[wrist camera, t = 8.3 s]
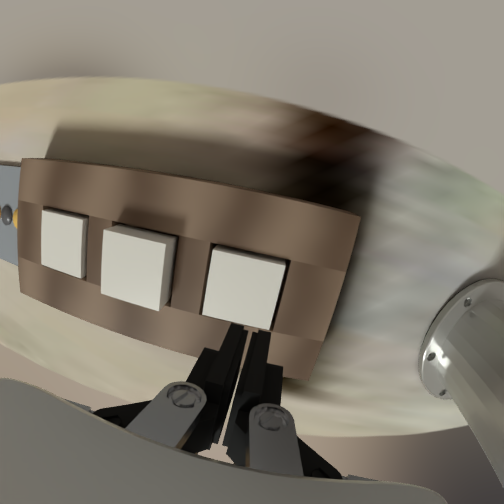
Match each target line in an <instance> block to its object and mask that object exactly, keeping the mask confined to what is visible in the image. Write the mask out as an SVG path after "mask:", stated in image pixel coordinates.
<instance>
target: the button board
mask: <svg viewBox="0 0 504 504" xmlns="http://www.w3.org/2000/svg"><path fill="white" fill-rule="evenodd" d="M51 208H57V209H62V210H66V211H71V212H76V213H80V214H85V215H89V227H88V245H87V275H86V276H84V277H83V278H78V277H75V276H72V275H69V274H66V273H64V272H61V271H58V270H55V269H52V268H50V267H47V266H44V265H42V264H41V224H42V210H46V209H51ZM360 219H361V217H360V216H358V215H356V214H354V213H352V212H349V211H346V210H342V209H338V208H334V207H330V206H326V205H322V204H318V203H313V202H309V201H305V200H301V199H296V198H292V197H288V196H283V195H279V194H274V193H269V192H265V191H260V190H255V189H250V188H245V187H240V186H235V185H230V184H225V183H220V182H214V181H209V180H203V179H198V178H192V177H186V176H180V175H174V174H168V173H162V172H155V171H149V170H142V169H135V168H128V167H120V166H112V165H104V164H96V163H87V162H78V161H68V160H58V159H46V158H22V161H21V170H20V180H19V193H18V213H17V249H18V269H19V282H20V292H21V293H23V294H25V295H28V296H30V297H32V298H34V299H36V300H38V301H40V302H43V303H45V304H47V305H49V306H51V307H54V308H56V309H58V310H61V311H63V312H65V313H68V314H70V315H72V316H75V317H77V318H80V319H82V320H85V321H87V322H90V323H92V324H95V325H98V326H100V327H103V328H106V329H108V330H111V331H114V332H117V333H120V334H122V335H125V336H128V337H131V338H134V339H137V340H140V341H143V342H146V343H149V344H153V345H156V346H159V347H162V348H166V349H169V350H172V351H176V352H179V353H183V354H186V355H190V356H194V357H197V358H199V356H200V354H201V352H202V351H203V349H204V348H205V347H206V348H210V349H213V350H217V351H219V349H220V347H221V345H222V343H223V340H224V338H225V336H226V334H227V331H228V329H229V327H230V324H231V323H235V322H231V321H226V320H222V319H218V318H214V317H210V316H206V315H202V313H203V306H204V300H205V294H206V287H207V281H208V275H209V269H210V263H211V257H212V251H213V249H214V248H215V247H216V246H217V245H218V244H221V245H225V246H230V247H234V248H239V249H243V250H248V251H252V252H257V253H261V254H266V255H270V256H275V257H279V258H284V259H285V265H286V266H285V270H284V274H283V278H282V282H281V286H280V290H279V294H278V298H277V302H276V306H275V310H274V313H273V317H272V321H271V325H270V329H269V330H267V329H262V328H257V327H253V326H248V325H244V324H239V323H235V324H239V325H243V326H244V330H249V331H248V335H247V340H246V344H245V348H244V353H243V357H242V361H241V365H240V368H243V364H244V361H245V357H246V354H247V350H248V347H249V343H250V339H251V336H252V332H257V333H258V330H263V331H268V332H272V333H271V340H270V346H269V352H268V359H267V363H270V364H275V365H279V366H283V377H288V378H294V379H300V380H307V381H309V378H310V376H311V373H312V371H313V368H314V366H315V363H316V360H317V358H318V355H319V352H320V350H321V347H322V344H323V341H324V339H325V336H326V333H327V330H328V327H329V324H330V321H331V318H332V315H333V312H334V309H335V306H336V303H337V300H338V297H339V294H340V291H341V287H342V284H343V281H344V278H345V274H346V271H347V268H348V264H349V261H350V257H351V254H352V250H353V246H354V243H355V239H356V235H357V231H358V227H359V223H360ZM119 224H122V225H127V226H131V227H136V228H140V229H145V230H149V231H154V232H158V233H163V234H167V235H172V236H176V237H178V241H177V248H176V256H175V263H174V271H173V280H172V288H171V297H170V299H169V300H168V302H167V303H166V304H165V305H164V306H163V307H162V308H161V310H160V311H156V310H152V309H149V308H146V307H142V306H139V305H136V304H133V303H129V302H126V301H123V300H120V299H117V298H114V297H110V296H107V295H104V294H101V265H102V245H103V231H104V229H107V228H110V227H113V226H116V225H119Z"/></svg>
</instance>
